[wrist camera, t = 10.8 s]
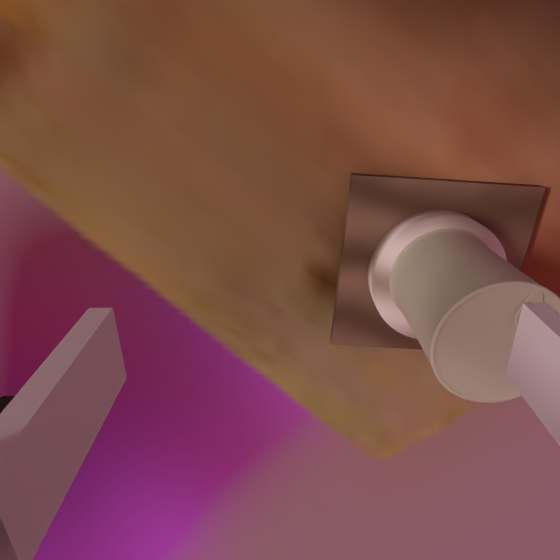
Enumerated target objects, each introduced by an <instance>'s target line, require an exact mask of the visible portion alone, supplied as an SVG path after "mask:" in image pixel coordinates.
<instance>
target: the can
mask: <svg viewBox="0 0 560 560" xmlns="http://www.w3.org/2000/svg"><path fill="white" fill-rule="evenodd" d="M389 287H390V293H391V296H392V299H393V301H394V303H395V305H396V307H397V308H398V309H399V310H400V311H401V312H402V313H403V315H404V317H405V319H406V320H407V322H408V324H409V325H410V327H411V329H412V331H413V333H414V334H415V336H416V338H417V340H418V341H419V343H420V345H421V347H422V349H423V351H424V352H425V354H426V356H427V358H428V360H429V362H430V364H431V366H432V369H433V371H434V374H435V375H436V377H437V379H438V380H439V381H440V383H441V384H442V385H443V386H444V387H445V388H446V389H448V390H449V391H450V392H452V393H453V394H455V395H457V396H459V397H461V398H464V399H467V400H471V401H476V402H487V403H492V402H501V401H507V400H510V399H514V398H517V397H520V396H522V395H521V394H520V392H519V391H518V390H517V388H516V387H515V386H514V384H513V383H512V382H511V380H510V379H509V378H508V376H507V375H506V370H507V366H508V362H509V358H510V354H511V350H512V346H513V342H514V338H515V334H516V330H517V326H518V322H519V318H520V314H521V310H522V306H523V303H548V304H549V305H550V306H552V307H553V308H554V309H555V310H556V311H558V312H559V313H560V298H559V297H558V296H557V295H556V294H555V293H554V292H552V291H551V290H549V289H548V288H546V287H543V286H541V285H540V284H538V283H537V282H535V281H534V280H533V279H531V278H530V277H528V276H527V275H525V274H524V273H523V272H521V271H520V270H518V269H517V268H516V267H514V266H513V265H511V264H510V263H509V262H507V261H506V260H505V259H503V258H502V257H500V256H499V255H498V254H496V253H495V252H494V251H492V250H491V249H490V248H488V247H487V246H486V244H485V243H484V242H483V241H482V240H481V239H480V238H478V237H477V236H475V235H474V234H471V233H469V232H467V231H464V230H459V229H439V230H434V231H431V232H428V233H426V234H423V235H421V236H419V237H418V238H416V239H414V240H413V241H412V242H410V243H409V244H408V245H407V246H406V247H405V248H404V249H403V250H402V251H401V253H400V254H399V255H398V257H397V258H396V260H395V262H394V264H393V267H392V270H391V274H390V280H389Z"/></svg>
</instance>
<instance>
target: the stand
mask: <svg viewBox="0 0 560 560" xmlns="http://www.w3.org/2000/svg"><path fill="white" fill-rule="evenodd" d="M544 192H545V187H542V186H539V185H524V184H509V183H493V182H478V181H462V180H447V179H431V178H416V177H400V176H385V175H369V174H354V173H351V179H350V187H349V195H348V203H347V211H346V219H345V227H344V235H343V243H342V251H341V259H340V267H339V275H338V283H337V291H336V299H335V307H334V315H333V323H332V331H331V344H333V345H352V346H370V347H388V348H407V349H422V347H421V345H420V343H419V341H418V340H417V338H416V336H415V334H414V333H413V331H412V329H411V327H410V325H409V324H408V322H407V320H406V319H405V317H404V315H403V313H402V312H401V311H400V310H399V309H398V308H397V307H396V305H395V303H394V301H393V299H392V296H391V293H390V287H389V280H390V274H391V270H392V267H393V264H394V262H395V260H396V258H397V257H398V255H399V254H400V253H401V251H402V250H403V249H404V248H405V247H406V246H407V245H408V244H409V243H410V242H412V241H413V240H414V239H416V238H418V237H419V236H421V235H423V234H426V233H428V232H431V231H434V230H439V229H459V230H464V231H467V232H469V233H471V234H474V235H475V236H477V237H478V238H480V239H481V240H482V241H483V242H484V243H485V244H486V246H487V247H488V248H490V249H491V250H492V251H494V252H495V253H496V254H498V255H499V256H500V257H502V258H503V259H505V260H506V261H507V262H509V263H510V264H511V265H513V266H514V267H516V268H517V269H518V270H520V271H521V269H522V265H523V262H524V259H525V255H526V252H527V248H528V245H529V242H530V238H531V235H532V232H533V228H534V225H535V222H536V218H537V215H538V212H539V208H540V205H541V202H542V198H543V195H544Z"/></svg>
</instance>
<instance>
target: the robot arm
mask: <svg viewBox="0 0 560 560" xmlns="http://www.w3.org/2000/svg"><path fill="white" fill-rule="evenodd" d="M506 375H507V376H508V378H509V379H510V380H511V382H512V383H513V384H514V386H515V387H516V388H517V390H518V391H519V392H520V394H521V395H522V396H523V398H525V400H526V402H527V403H528V404H529V406H530V407H531V408H532V410H533V411H534V412H535V413H536V415H537V416H538V417H539V419H540V420H541V421H542V423H543V424H544V425H545V427H546V428H547V430H548V431H549V432H550V433H551V435H552V436H553V437H554V439H555V440H556V441H557V443H558V444H559V445H560V313H559V312H558V311H556V310H555V309H554V308H553V307H552V306H550V305H549V304H548V303H523V306H522V310H521V314H520V318H519V322H518V326H517V330H516V334H515V338H514V342H513V346H512V350H511V354H510V358H509V362H508V366H507V370H506ZM126 378H127V377H126V372H125V367H124V362H123V357H122V352H121V347H120V342H119V338H118V332H117V327H116V322H115V317H114V312H113V308H89V309H88V310H87V311H86V312H85V313H84V315H83V316H82V317H81V318H80V319H79V321H78V322H77V323H76V324H75V325H74V327H73V328H72V329H71V330H70V331H69V333H68V334H67V335H66V336H65V337H64V338H63V340H62V341H61V342H60V343H59V344H58V346H57V347H56V348H55V349H54V350H53V352H52V353H51V354H50V355H49V356H48V358H47V359H46V360H45V361H44V362H43V363H42V365H41V366H40V367H39V368H38V369H37V371H36V372H35V373H34V374H33V376H32V377H31V378H30V379H29V380H28V381H27V383H26V384H25V385H24V386H23V387H22V389H21V390H20V391H19V392H18V393H17V395H16V396H2V397H1V398H0V560H32V559H33V557H34V555H35V553H36V551H37V549H38V547H39V545H40V543H41V541H42V539H43V538H44V536H45V534H46V532H47V530H48V528H49V526H50V524H51V522H52V520H53V518H54V516H55V514H56V513H57V511H58V509H59V507H60V505H61V503H62V501H63V499H64V497H65V495H66V493H67V491H68V489H69V488H70V486H71V484H72V482H73V480H74V478H75V476H76V474H77V472H78V470H79V468H80V466H81V464H82V463H83V460H84V459H85V457H86V455H87V453H88V451H89V449H90V447H91V445H92V443H93V441H94V439H95V437H96V436H97V433H98V431H99V430H100V428H101V426H102V424H103V422H104V420H105V418H106V416H107V414H108V412H109V411H110V409H111V407H112V405H113V403H114V401H115V399H116V397H117V395H118V393H119V391H120V389H121V387H122V385H123V383H124V382H125V380H126Z"/></svg>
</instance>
